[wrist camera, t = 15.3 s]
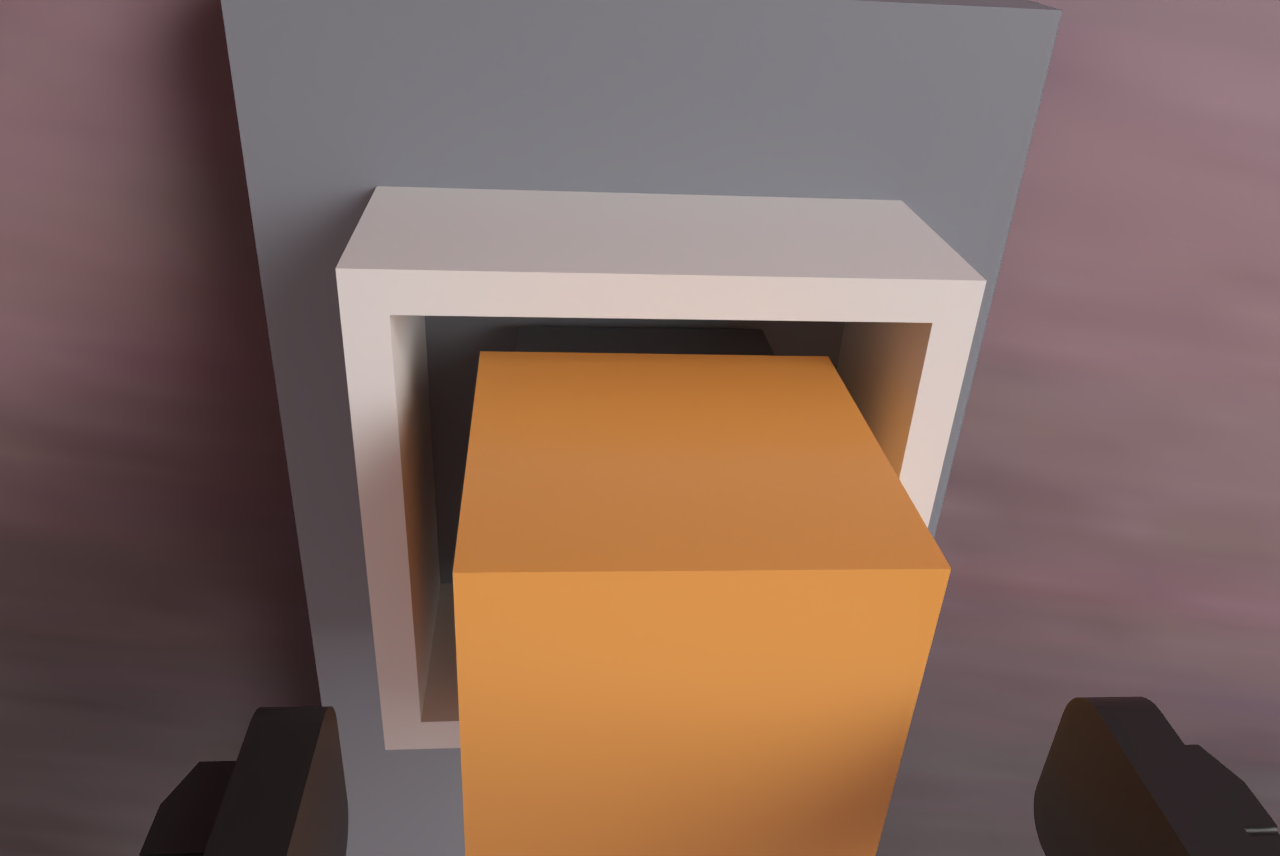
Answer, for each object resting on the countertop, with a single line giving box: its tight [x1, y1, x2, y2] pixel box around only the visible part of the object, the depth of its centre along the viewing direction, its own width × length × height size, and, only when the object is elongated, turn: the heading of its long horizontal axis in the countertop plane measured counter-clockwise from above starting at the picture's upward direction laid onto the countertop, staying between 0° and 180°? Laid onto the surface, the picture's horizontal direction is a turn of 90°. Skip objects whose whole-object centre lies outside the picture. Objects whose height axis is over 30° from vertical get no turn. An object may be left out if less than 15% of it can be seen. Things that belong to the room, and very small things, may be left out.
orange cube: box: [453, 351, 951, 856], centre depth 13 cm, size 5×5×5 cm
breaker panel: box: [221, 0, 1062, 856], centre depth 19 cm, size 12×24×6 cm, turn 177°
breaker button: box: [516, 326, 774, 356], centre depth 16 cm, size 4×4×2 cm
